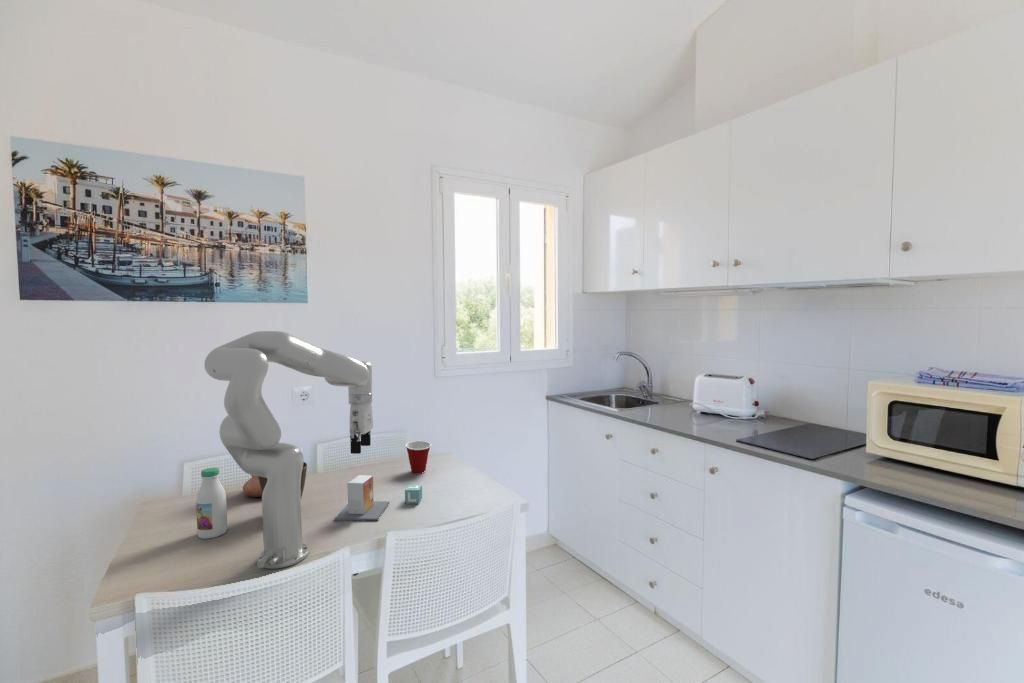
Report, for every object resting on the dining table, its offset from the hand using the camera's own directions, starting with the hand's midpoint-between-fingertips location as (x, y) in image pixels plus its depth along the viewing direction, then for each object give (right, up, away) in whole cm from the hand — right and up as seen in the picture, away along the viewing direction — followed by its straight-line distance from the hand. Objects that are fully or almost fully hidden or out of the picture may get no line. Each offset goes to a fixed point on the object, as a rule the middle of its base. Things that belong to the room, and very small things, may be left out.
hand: (360, 449), depth 158 cm
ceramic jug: (-43, -21, +20) cm, 52 cm away
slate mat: (0, -22, +2) cm, 22 cm away
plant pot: (-26, -22, 0) cm, 34 cm away
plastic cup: (+11, -19, +42) cm, 48 cm away
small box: (0, -21, +2) cm, 21 cm away
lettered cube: (+16, -21, +11) cm, 28 cm away
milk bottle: (-41, -23, -14) cm, 49 cm away
